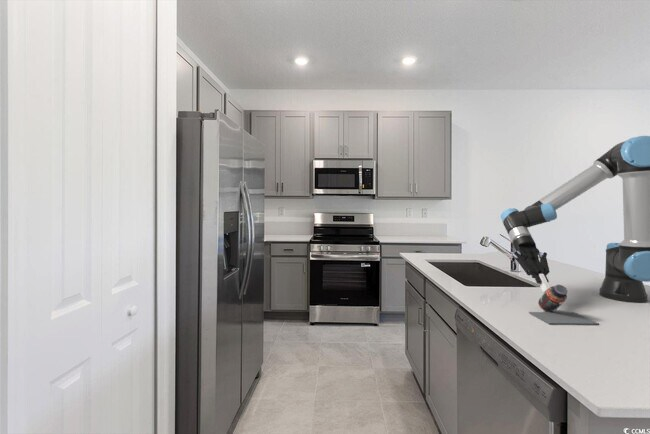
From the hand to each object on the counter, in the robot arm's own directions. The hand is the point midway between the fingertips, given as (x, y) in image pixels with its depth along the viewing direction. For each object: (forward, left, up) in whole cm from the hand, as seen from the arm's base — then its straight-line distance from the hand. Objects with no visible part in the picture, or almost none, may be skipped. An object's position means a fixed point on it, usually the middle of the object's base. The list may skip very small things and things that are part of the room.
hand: (547, 290), depth 120 cm
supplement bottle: (0, -1, -6) cm, 6 cm away
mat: (-1, +7, -8) cm, 11 cm away
